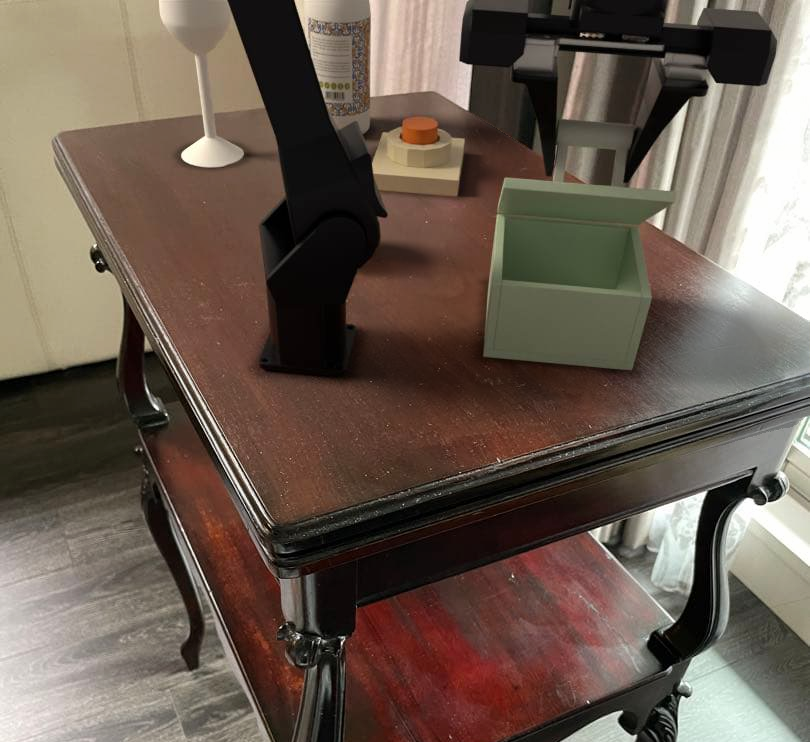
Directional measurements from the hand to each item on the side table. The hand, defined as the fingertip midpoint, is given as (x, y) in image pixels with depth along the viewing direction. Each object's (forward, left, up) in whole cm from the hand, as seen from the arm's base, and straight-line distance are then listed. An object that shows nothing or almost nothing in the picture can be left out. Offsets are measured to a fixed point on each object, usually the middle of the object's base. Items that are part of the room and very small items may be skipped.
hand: (586, 178), depth 58 cm
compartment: (+2, 0, -13) cm, 13 cm away
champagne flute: (+30, +36, -13) cm, 48 cm away
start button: (+30, +14, -9) cm, 34 cm away
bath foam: (+40, +24, -13) cm, 48 cm away
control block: (+30, +14, -13) cm, 35 cm away
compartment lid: (+2, 0, -3) cm, 4 cm away
